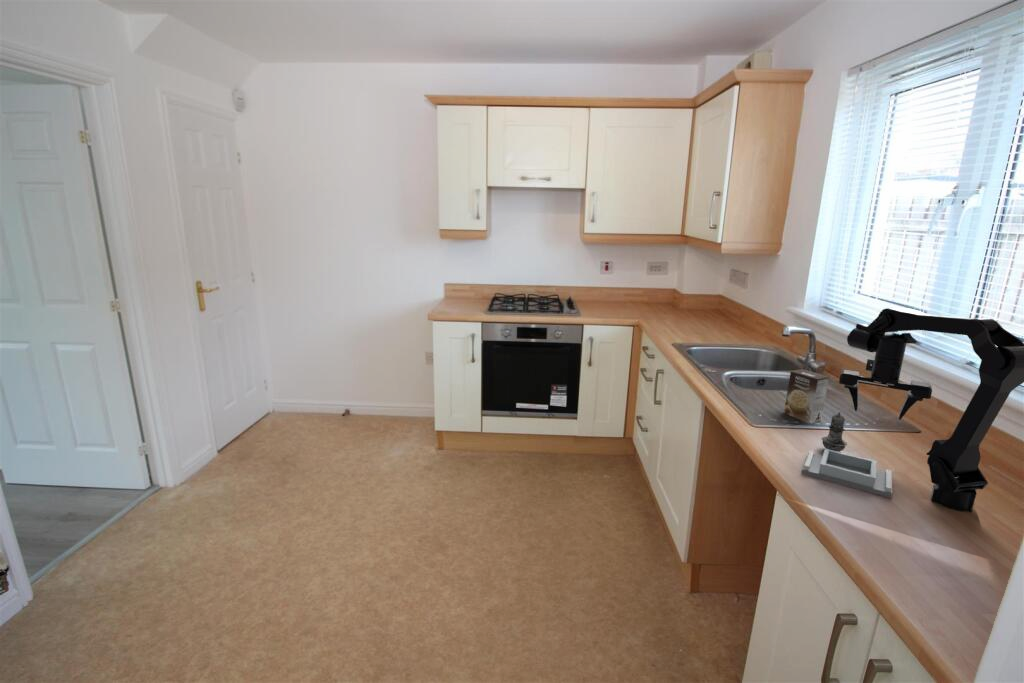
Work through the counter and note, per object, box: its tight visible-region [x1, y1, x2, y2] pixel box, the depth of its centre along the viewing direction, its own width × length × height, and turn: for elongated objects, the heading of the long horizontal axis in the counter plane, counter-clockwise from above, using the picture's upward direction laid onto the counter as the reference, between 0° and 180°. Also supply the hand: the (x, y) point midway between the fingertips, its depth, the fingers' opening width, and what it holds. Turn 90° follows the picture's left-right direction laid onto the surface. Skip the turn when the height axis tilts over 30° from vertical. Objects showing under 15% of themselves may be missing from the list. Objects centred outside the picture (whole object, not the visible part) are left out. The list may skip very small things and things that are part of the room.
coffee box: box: [783, 368, 830, 424], centre depth 154 cm, size 9×6×16 cm
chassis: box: [801, 448, 893, 499], centre depth 121 cm, size 18×12×4 cm, turn 53°
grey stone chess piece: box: [821, 411, 848, 452], centre depth 133 cm, size 6×6×12 cm
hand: (877, 414), depth 127 cm, fingers open, 9 cm apart
